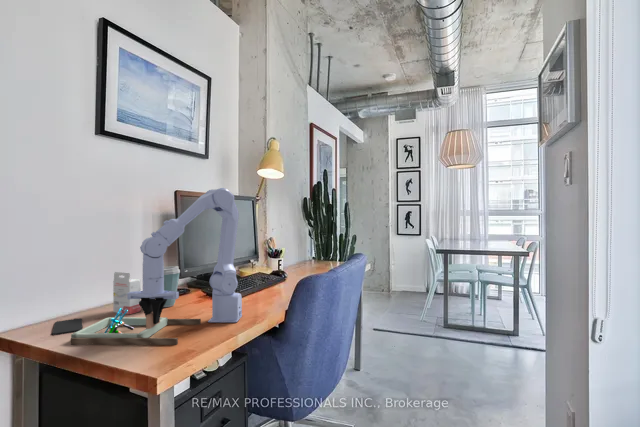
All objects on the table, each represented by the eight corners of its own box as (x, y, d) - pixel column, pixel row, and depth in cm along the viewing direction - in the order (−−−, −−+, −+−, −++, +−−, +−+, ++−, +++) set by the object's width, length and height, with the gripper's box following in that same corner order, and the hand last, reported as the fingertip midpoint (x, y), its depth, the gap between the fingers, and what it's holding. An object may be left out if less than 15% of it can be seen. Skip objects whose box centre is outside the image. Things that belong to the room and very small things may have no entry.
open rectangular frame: (167, 324, 111) (167, 305, 111) (141, 342, 95) (141, 320, 95) (107, 324, 112) (107, 305, 112) (71, 342, 96) (71, 320, 96)
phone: (82, 317, 118) (82, 329, 106) (82, 320, 118) (82, 332, 106) (54, 321, 114) (51, 334, 101) (55, 324, 114) (51, 336, 101)
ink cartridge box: (141, 311, 127) (141, 271, 127) (129, 315, 123) (129, 273, 123) (124, 309, 130) (124, 269, 131) (112, 312, 126) (112, 271, 126)
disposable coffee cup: (149, 310, 128) (149, 269, 129) (151, 303, 138) (151, 266, 138) (180, 307, 133) (180, 268, 133) (179, 301, 142) (179, 264, 143)
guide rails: (200, 323, 112) (200, 318, 112) (176, 344, 94) (176, 338, 94) (112, 323, 113) (112, 318, 113) (70, 344, 94) (70, 338, 94)
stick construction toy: (106, 321, 107) (121, 302, 107) (127, 331, 110) (142, 312, 110) (96, 345, 97) (114, 324, 97) (120, 355, 100) (137, 334, 100)
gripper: (121, 279, 100) (121, 327, 99) (171, 280, 99) (171, 327, 99) (134, 275, 107) (134, 320, 106) (181, 275, 106) (181, 320, 106)
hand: (153, 323), depth 103 cm, fingers closed on open rectangular frame
